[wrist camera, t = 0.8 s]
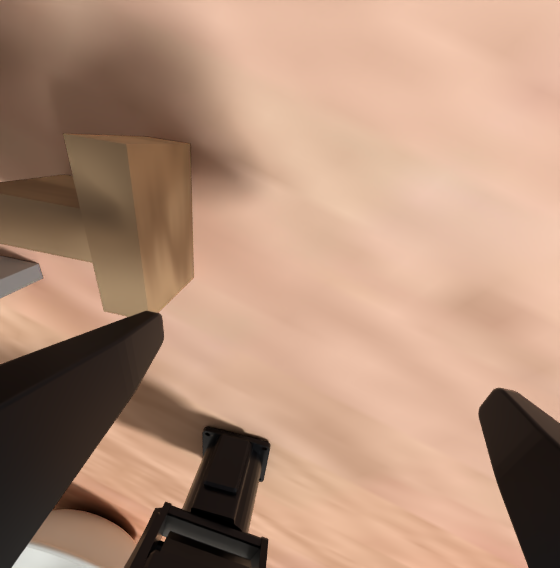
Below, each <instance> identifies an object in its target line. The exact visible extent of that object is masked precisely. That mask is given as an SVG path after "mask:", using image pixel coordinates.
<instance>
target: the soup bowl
mask: <svg viewBox="0 0 560 568" xmlns="http://www.w3.org/2000/svg"><path fill="white" fill-rule="evenodd" d="M136 545H137V544H136V543H135V541H134V540H133V539H132V537H131V536H130V535H129V534H128V533H127V532H126V531H124V530H123V529H122V528H121V527H119V526H118V525H116V524H114V523H113V522H111V521H109V520H107V519H105V518H103V517H100V516H98V515H95V514H92V513H89V512H85V511H80V510H74V509H59V510H53V511H51V512H50V514H49V515H48V517H47V518H46V520H45V521H44V522H43V524H42V525H41V527H40V528H39V530H38V531H37V532H36V534H35V535H34V537H33V538H32V539H31V541H30V542H29V544H28V545H27V547H26V548H25V549H24V551H23V552H22V554H21V555H20V557H19V558H18V559H17V561H16V562H15V564H14V565H13V566H12V568H124V566H125V564H126V563H127V561H128V559H129V557H130V556H131V554H132V552H133V550H134V549H135V547H136Z"/></svg>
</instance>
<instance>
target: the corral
mask: <svg viewBox="0 0 560 568" xmlns="http://www.w3.org/2000/svg"><path fill="white" fill-rule="evenodd" d="M42 278H43V276H42V273H41V270H40V267H39V264H37V263H32V262H28V261H23V260H18V259H13V258H9V257H4V256H0V298H2V297H4V296H6V295H9V294H11V293H13V292H15V291H17V290H19V289H21V288H23V287H26V286H28V285H30V284H32V283H34V282H36V281H38V280H40V279H42Z"/></svg>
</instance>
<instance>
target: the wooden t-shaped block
mask: <svg viewBox="0 0 560 568" xmlns="http://www.w3.org/2000/svg"><path fill="white" fill-rule="evenodd" d="M63 136H64V141H65V145H66V149H67V154H68V158H69V162H70V167H71V171H72V175H73V176H70V175H57V176H49V177H41V178H32V179H24V180H16V181H7V182H0V244H4V245H9V246H14V247H19V248H24V249H28V250H33V251H38V252H43V253H48V254H52V255H57V256H62V257H67V258H72V259H77V260H81V261H86V262H91V263H93V266H94V271H95V275H96V279H97V284H98V288H99V293H100V297H101V301H102V306H103V310H104V311H105V312H109V313H114V314H118V315H123V316H127V317H130V316H132V315H135V314H138V313H140V312H143V311H152V312H156V313H159V312H160V311H161V310H162V309H163V308H164V307H165V306H166V305H167V304H168V303H169V302H170V301H171V300H172V299H173V298H174V297H175V296H176V295H177V294H178V293H179V292H180V291H181V290H182V289H183V288H184V287H185V286H186V285H187V284H188V283H189V282H190V281H191V280H192V279H193V278H194V264H193V226H192V188H191V151H190V144H189V143H183V142H177V141H171V140H164V139H158V138H152V137H146V136H118V135H88V134H63Z"/></svg>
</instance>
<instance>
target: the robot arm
mask: <svg viewBox="0 0 560 568" xmlns="http://www.w3.org/2000/svg"><path fill="white" fill-rule="evenodd" d="M163 340H164V330H163V320H162V316H161V314H159V313H156V312H152V311H143V312H140V313H138V314H135V315H132V316H130V317H127V318H124V319H122V320H119V321H116V322H114V323H111V324H108V325H105V326H103V327H100V328H97V329H95V330H92V331H89V332H87V333H84V334H81V335H78V336H76V337H73V338H70V339H68V340H65V341H62V342H60V343H57V344H54V345H51V346H49V347H46V348H43V349H41V350H38V351H35V352H33V353H30V354H27V355H24V356H22V357H19V358H16V359H14V360H11V361H8V362H6V363H3V364H0V568H12V566H13V565H14V564H15V562H16V561H17V559H18V558H19V557H20V555H21V554H22V552H23V551H24V549H25V548H26V547H27V545H28V544H29V542H30V541H31V539H32V538H33V537H34V535H35V534H36V532H37V531H38V530H39V528H40V527H41V525H42V524H43V522H44V521H45V520H46V518H47V517H48V515H49V514H50V512H51V511H52V510H53V508H54V507H55V505H56V504H57V502H58V501H59V500H60V498H61V497H62V495H63V494H64V493H65V491H66V490H67V488H68V487H69V485H70V484H71V483H72V481H73V480H74V478H75V477H76V475H77V474H78V473H79V471H80V470H81V468H82V467H83V465H84V464H85V463H86V461H87V460H88V458H89V457H90V456H91V454H92V453H93V451H94V450H95V448H96V447H97V446H98V444H99V443H100V441H101V440H102V438H103V437H104V436H105V434H106V433H107V431H108V430H109V429H110V427H111V426H112V424H113V423H114V421H115V420H116V419H117V417H118V416H119V414H120V413H121V411H122V410H123V409H124V407H125V406H126V404H127V403H128V401H129V400H130V399H131V397H132V396H133V394H134V393H135V391H136V389H137V388H138V386H139V384H140V383H141V381H142V379H143V377H144V375H145V374H146V372H147V370H148V368H149V367H150V365H151V363H152V361H153V359H154V358H155V356H156V354H157V352H158V350H159V349H160V347H161V345H162V343H163ZM478 414H479V420H480V424H481V427H482V431H483V435H484V438H485V442H486V446H487V449H488V453H489V457H490V460H491V464H492V467H493V471H494V474H495V478H496V481H497V484H498V487H499V490H500V492H501V495H502V498H503V501H504V503H505V506H506V509H507V511H508V514H509V517H510V519H511V522H512V525H513V527H514V530H515V533H516V535H517V538H518V541H519V543H520V546H521V549H522V551H523V554H524V557H525V559H526V562H527V565H528V567H529V568H560V423H559V422H557V421H556V420H555V419H553V418H552V417H551V416H549V415H548V414H547V413H545V412H544V411H542V410H541V409H540V408H538V407H537V406H536V405H534V404H533V403H532V402H530V401H529V400H528V399H526V398H525V397H523V396H522V395H521V394H519V393H518V392H516V391H513V390H508V389H504V388H496V389H494V390H493V391H492V392H491V393H490V395H489V396H488V397H487V398H486V400H485V401H484V402H483V404H482V405H481V406H480V408H479V413H478ZM269 451H270V443H268V442H266V441H262V440H258V439H254V438H250V437H246V436H242V435H238V434H234V433H230V432H226V431H222V430H219V429H215V428H211V427H205V428H204V431H203V459H202V461H201V464H200V466H199V469H198V471H197V474H196V476H195V479H194V481H193V483H192V486H191V488H190V491H189V493H188V496H187V498H186V501H185V503H184V506H183V508H182V509H180V508H177V507H174V506H172V504H171V503H168V502H165V503H164V506H163V507H162V508H155V510H154V512H153V514H152V516H151V518H150V520H149V522H148V525H147V527H146V529H145V531H144V533H143V534H142V536H141V538H140V540H139V542H138V543H137V545H136V547H135V549H134V550H133V552H132V554H131V556H130V557H129V559H128V561H127V563H126V564H125V566H124V568H266V560H267V549H268V539H267V538H265V537H261V538H260V537H257V536H255V535H252V534H249V533H248V530H249V526H250V521H251V516H252V512H253V507H254V502H255V498H256V493H257V488H258V483H259V482H262V481H263V480H264V475H265V470H266V465H267V461H268V456H269ZM162 536H165V537H166V540H165V542H163V541H160V540H161V538H162Z"/></svg>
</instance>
